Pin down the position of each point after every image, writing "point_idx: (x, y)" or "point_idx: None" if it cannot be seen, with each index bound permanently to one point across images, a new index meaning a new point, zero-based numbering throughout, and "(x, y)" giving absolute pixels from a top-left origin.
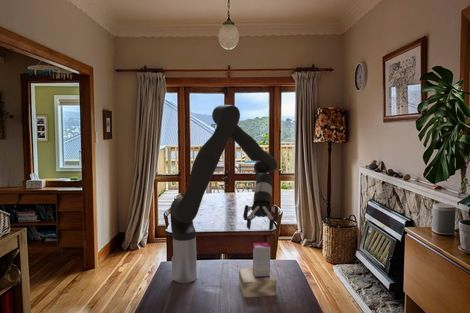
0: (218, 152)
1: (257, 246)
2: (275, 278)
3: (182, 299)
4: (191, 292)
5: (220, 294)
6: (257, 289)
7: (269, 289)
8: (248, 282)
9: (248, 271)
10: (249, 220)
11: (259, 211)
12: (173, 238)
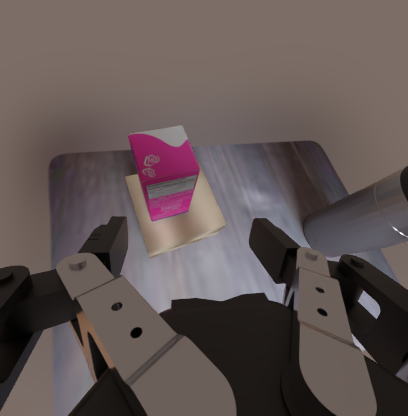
0: None
1: (177, 135)
2: (127, 183)
3: (284, 163)
4: (283, 185)
5: (236, 183)
6: None
7: None
8: None
9: (200, 213)
10: (285, 240)
11: (255, 334)
12: None
